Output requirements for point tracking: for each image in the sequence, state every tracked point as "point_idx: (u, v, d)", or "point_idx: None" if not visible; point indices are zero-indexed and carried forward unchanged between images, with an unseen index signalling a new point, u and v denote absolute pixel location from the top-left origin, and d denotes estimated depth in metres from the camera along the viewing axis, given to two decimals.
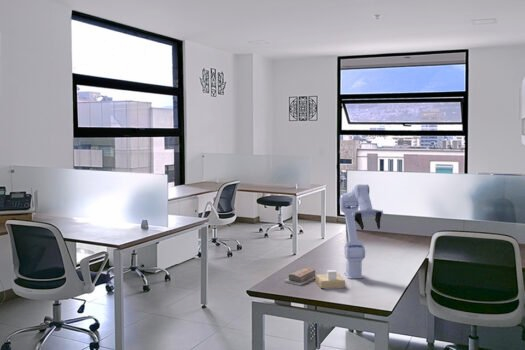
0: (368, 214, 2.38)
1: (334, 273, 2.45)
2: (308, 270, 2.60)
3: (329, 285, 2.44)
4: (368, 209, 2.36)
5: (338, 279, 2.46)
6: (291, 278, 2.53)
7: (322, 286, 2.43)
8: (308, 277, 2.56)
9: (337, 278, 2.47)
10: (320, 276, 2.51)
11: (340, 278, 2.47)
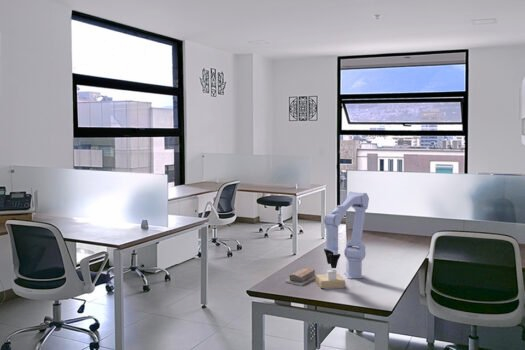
0: None
1: (334, 273, 2.45)
2: (308, 270, 2.60)
3: (329, 285, 2.44)
4: None
5: (338, 279, 2.46)
6: (292, 278, 2.53)
7: (322, 286, 2.43)
8: (308, 277, 2.56)
9: (337, 278, 2.47)
10: (320, 276, 2.51)
11: (340, 278, 2.47)
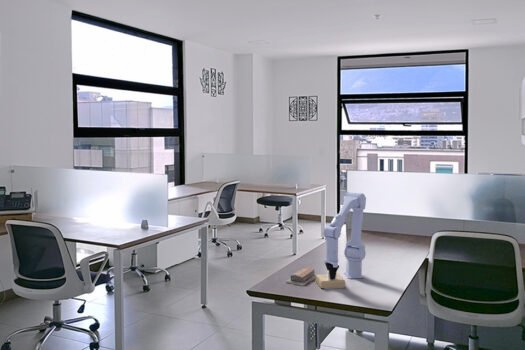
0: None
1: None
2: (308, 270, 2.60)
3: (329, 285, 2.44)
4: None
5: (338, 279, 2.46)
6: (293, 279, 2.52)
7: (322, 286, 2.43)
8: (309, 277, 2.57)
9: (337, 278, 2.47)
10: (320, 276, 2.51)
11: (340, 278, 2.47)
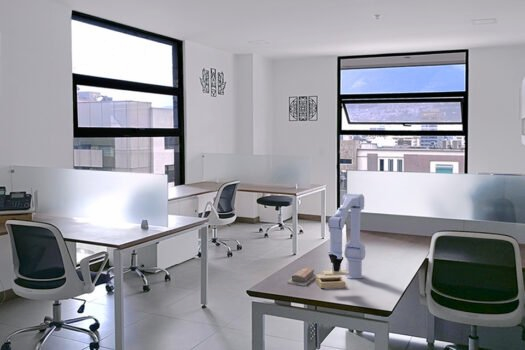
0: None
1: None
2: (308, 270, 2.61)
3: (329, 285, 2.44)
4: None
5: (342, 272, 2.38)
6: (294, 279, 2.52)
7: (322, 286, 2.43)
8: (309, 277, 2.57)
9: (341, 271, 2.39)
10: (320, 276, 2.51)
11: (344, 271, 2.39)
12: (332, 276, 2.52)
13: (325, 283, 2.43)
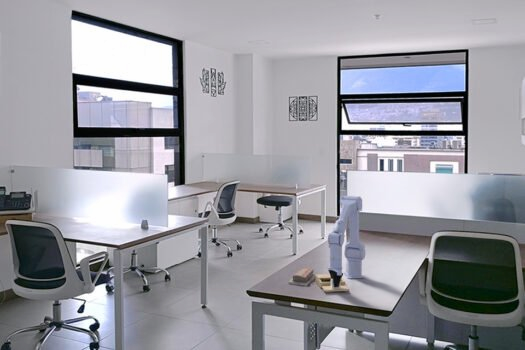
0: None
1: None
2: (308, 270, 2.61)
3: (329, 285, 2.44)
4: None
5: (342, 288, 2.38)
6: (295, 279, 2.51)
7: None
8: (310, 277, 2.57)
9: (341, 287, 2.40)
10: (320, 276, 2.51)
11: (344, 287, 2.40)
12: None
13: (325, 283, 2.43)
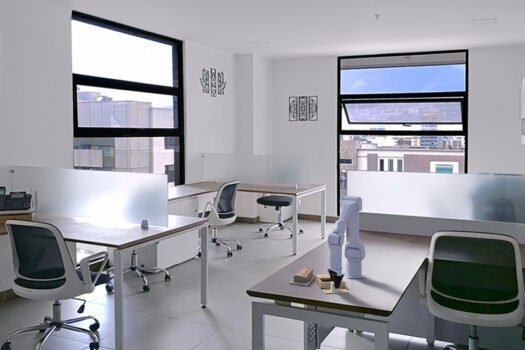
0: None
1: None
2: (308, 270, 2.61)
3: (329, 285, 2.44)
4: None
5: (342, 291, 2.39)
6: (296, 279, 2.51)
7: (322, 286, 2.43)
8: (310, 277, 2.57)
9: (341, 290, 2.40)
10: (320, 276, 2.51)
11: (344, 290, 2.40)
12: None
13: (325, 283, 2.43)
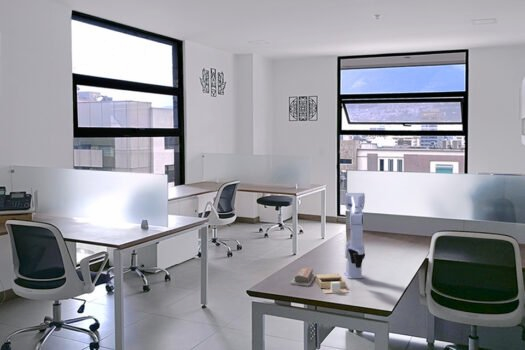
0: None
1: (338, 285, 2.38)
2: (308, 270, 2.61)
3: (329, 285, 2.44)
4: None
5: (342, 291, 2.39)
6: (297, 279, 2.51)
7: (322, 286, 2.43)
8: (310, 277, 2.57)
9: (341, 290, 2.40)
10: (320, 276, 2.51)
11: (344, 290, 2.40)
12: (332, 276, 2.52)
13: (325, 283, 2.43)
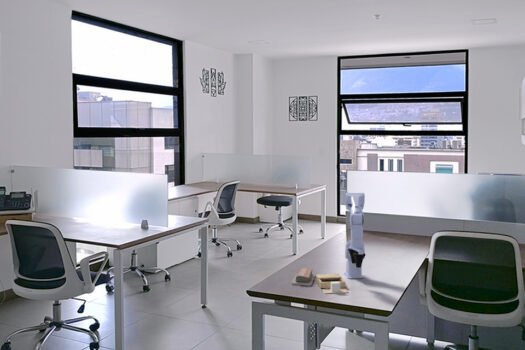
0: None
1: (338, 285, 2.38)
2: (307, 270, 2.61)
3: (329, 285, 2.44)
4: None
5: (342, 291, 2.39)
6: (299, 280, 2.50)
7: (322, 286, 2.43)
8: (311, 277, 2.57)
9: (341, 290, 2.40)
10: (320, 276, 2.51)
11: (344, 290, 2.40)
12: (332, 276, 2.52)
13: (325, 283, 2.43)
